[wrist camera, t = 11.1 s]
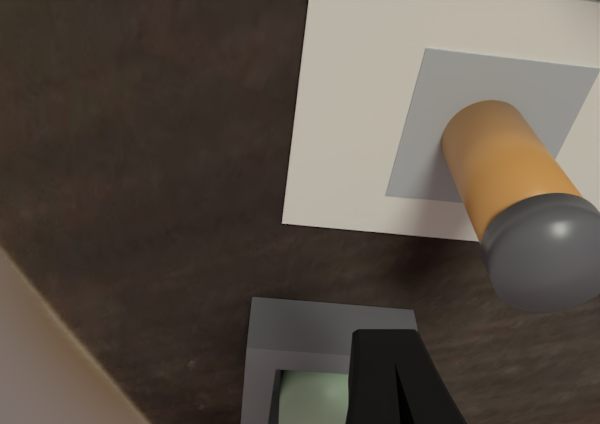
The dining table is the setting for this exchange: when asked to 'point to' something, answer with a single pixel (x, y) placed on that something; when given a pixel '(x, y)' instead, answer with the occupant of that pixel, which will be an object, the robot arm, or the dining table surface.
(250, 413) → the button housing
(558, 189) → the bottle
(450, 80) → the paper
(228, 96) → the dining table surface
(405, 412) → the robot arm
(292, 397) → the button
